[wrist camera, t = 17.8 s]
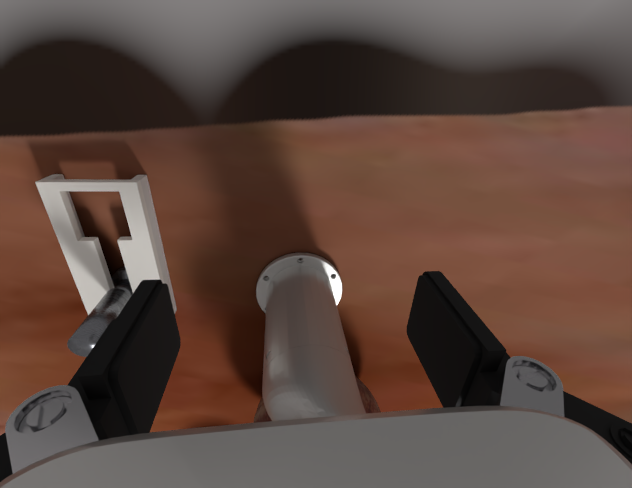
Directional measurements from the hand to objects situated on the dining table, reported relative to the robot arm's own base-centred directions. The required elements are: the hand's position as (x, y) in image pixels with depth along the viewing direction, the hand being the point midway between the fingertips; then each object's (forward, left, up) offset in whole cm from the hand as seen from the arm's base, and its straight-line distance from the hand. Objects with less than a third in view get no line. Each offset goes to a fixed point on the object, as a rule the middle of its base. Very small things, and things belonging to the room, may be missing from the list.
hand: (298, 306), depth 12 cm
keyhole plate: (-13, +21, -28) cm, 38 cm away
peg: (-18, +21, -28) cm, 39 cm away
